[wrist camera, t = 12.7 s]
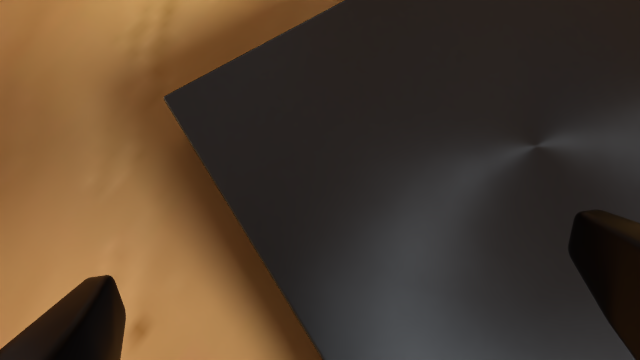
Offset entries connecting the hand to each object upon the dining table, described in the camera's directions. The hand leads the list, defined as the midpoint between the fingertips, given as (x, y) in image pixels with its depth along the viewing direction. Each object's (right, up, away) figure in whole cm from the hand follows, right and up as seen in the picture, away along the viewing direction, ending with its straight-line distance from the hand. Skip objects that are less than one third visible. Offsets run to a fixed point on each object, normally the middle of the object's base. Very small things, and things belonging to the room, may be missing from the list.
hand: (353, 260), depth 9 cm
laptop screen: (+7, +3, +9) cm, 12 cm away
